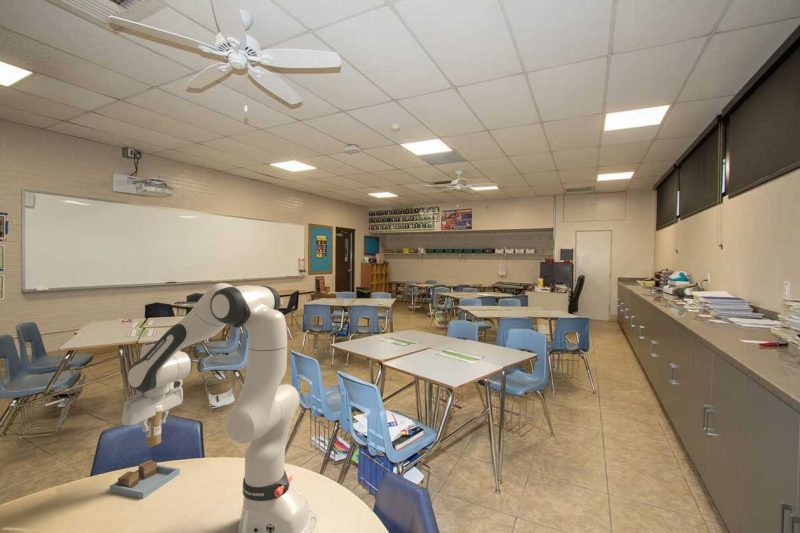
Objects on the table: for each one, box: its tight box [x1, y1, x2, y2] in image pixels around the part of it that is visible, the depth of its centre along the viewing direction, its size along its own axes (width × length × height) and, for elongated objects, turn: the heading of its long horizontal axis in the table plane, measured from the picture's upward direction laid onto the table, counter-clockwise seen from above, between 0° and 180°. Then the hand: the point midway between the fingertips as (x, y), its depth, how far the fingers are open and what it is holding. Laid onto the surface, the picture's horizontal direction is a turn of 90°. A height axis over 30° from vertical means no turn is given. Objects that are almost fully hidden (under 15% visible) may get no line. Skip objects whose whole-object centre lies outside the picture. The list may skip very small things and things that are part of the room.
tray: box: [109, 464, 181, 499], centre depth 121 cm, size 14×14×2 cm
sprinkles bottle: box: [145, 405, 163, 447], centre depth 121 cm, size 5×5×14 cm
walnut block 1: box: [117, 470, 139, 488], centre depth 119 cm, size 4×4×4 cm
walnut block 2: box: [138, 459, 158, 480], centre depth 125 cm, size 4×4×4 cm
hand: (154, 427), depth 121 cm, fingers closed on sprinkles bottle, 4 cm apart
